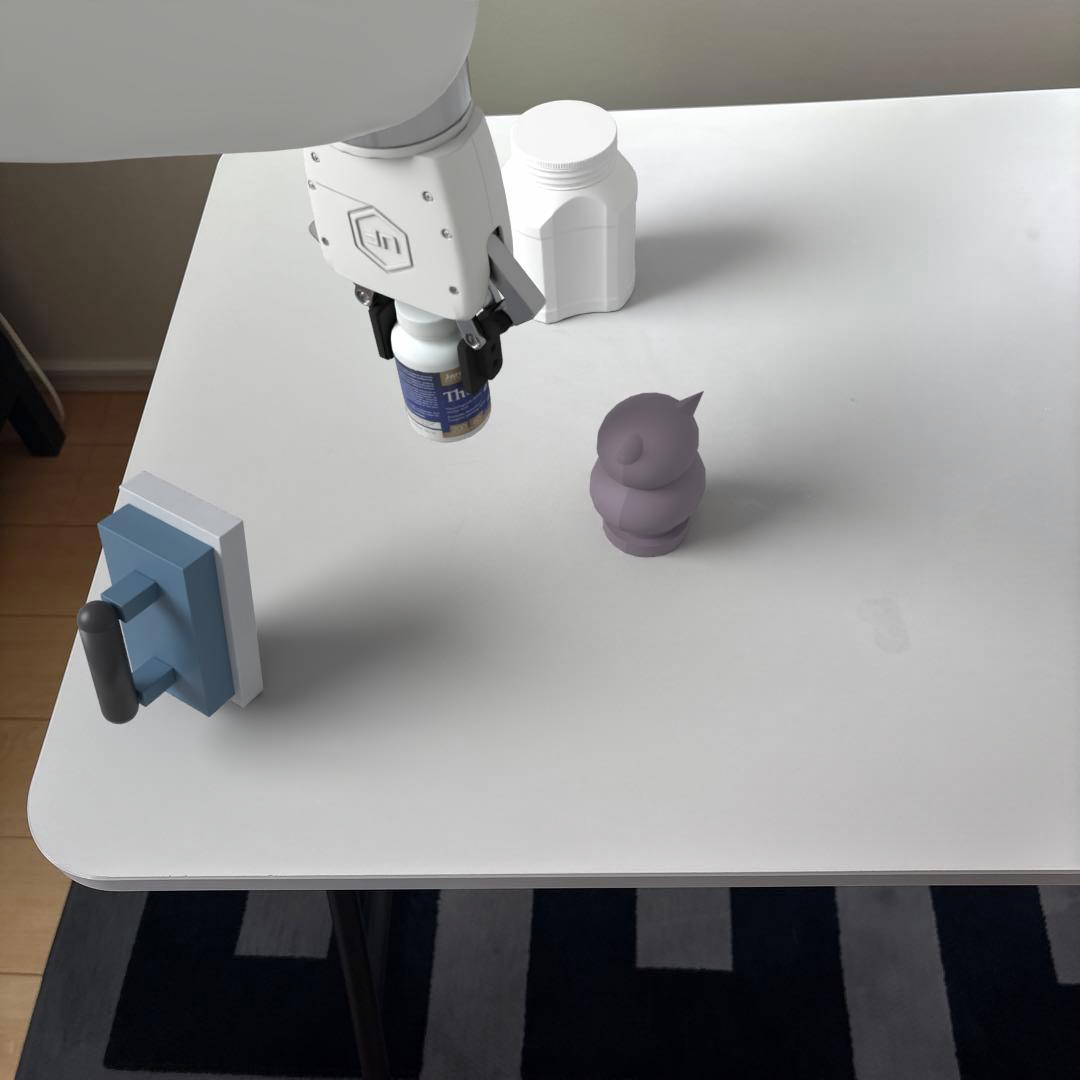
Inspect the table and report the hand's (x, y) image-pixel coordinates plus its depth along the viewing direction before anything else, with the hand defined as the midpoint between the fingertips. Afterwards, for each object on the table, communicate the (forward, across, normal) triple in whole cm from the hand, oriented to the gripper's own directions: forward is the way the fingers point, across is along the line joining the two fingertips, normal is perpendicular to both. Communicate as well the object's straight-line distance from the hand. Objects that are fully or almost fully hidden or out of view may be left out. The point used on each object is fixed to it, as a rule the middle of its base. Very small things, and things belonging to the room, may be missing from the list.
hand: (440, 359), depth 64 cm
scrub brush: (+11, -9, -16) cm, 21 cm away
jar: (+18, -7, +27) cm, 34 cm away
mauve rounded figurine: (+18, +11, +7) cm, 22 cm away
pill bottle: (+5, 0, 0) cm, 5 cm away
